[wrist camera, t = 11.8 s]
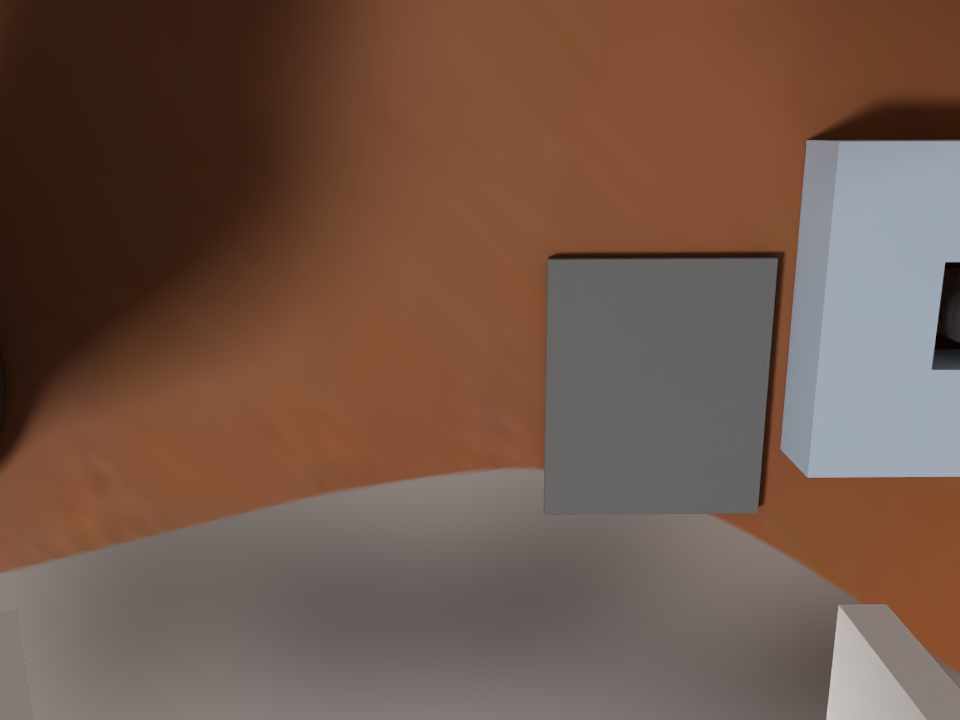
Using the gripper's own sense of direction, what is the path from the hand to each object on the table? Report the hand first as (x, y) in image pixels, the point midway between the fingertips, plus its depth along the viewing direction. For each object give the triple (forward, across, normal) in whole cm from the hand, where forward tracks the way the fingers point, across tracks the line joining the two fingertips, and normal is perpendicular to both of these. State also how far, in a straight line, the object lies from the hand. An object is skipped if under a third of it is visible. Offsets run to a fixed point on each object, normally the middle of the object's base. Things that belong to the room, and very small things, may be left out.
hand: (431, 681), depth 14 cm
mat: (+27, +9, -3) cm, 28 cm away
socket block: (+27, +22, +1) cm, 35 cm away
